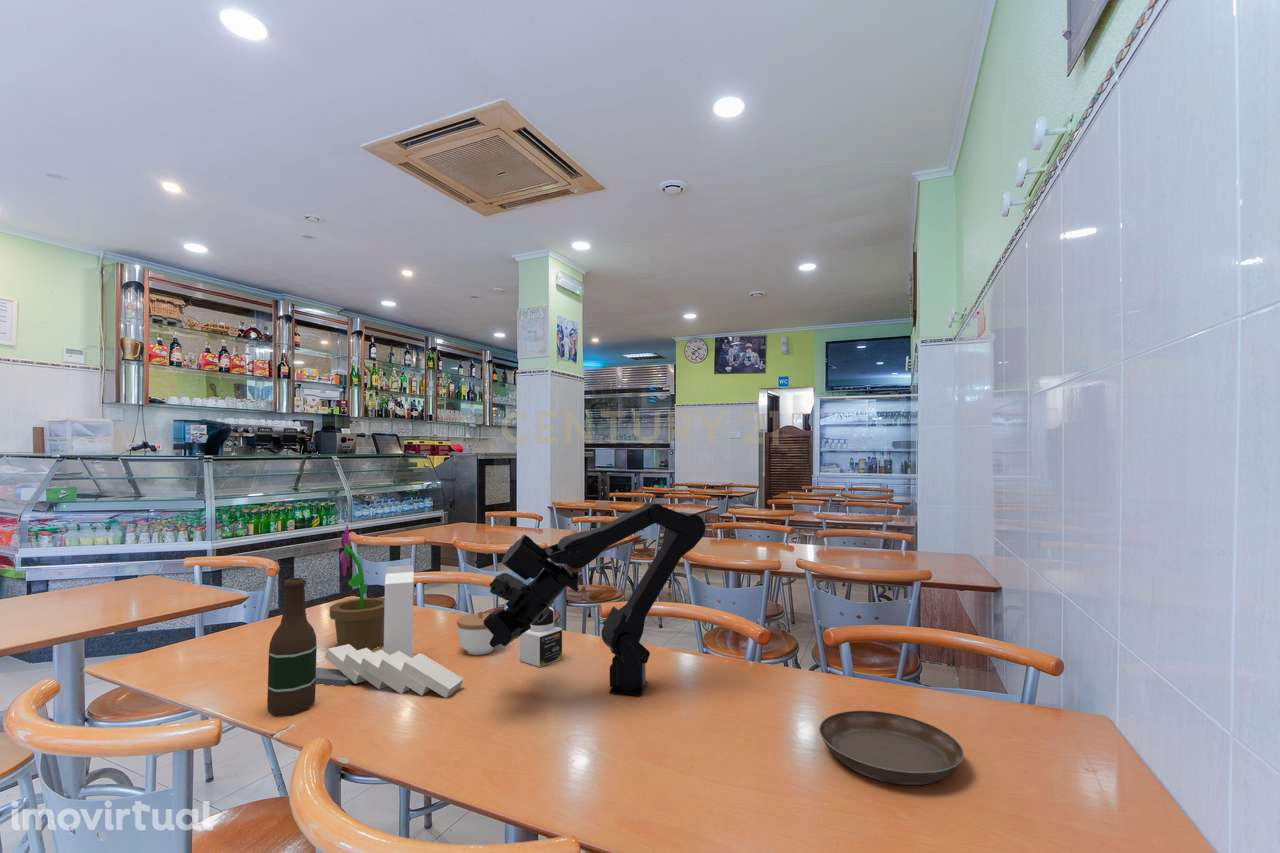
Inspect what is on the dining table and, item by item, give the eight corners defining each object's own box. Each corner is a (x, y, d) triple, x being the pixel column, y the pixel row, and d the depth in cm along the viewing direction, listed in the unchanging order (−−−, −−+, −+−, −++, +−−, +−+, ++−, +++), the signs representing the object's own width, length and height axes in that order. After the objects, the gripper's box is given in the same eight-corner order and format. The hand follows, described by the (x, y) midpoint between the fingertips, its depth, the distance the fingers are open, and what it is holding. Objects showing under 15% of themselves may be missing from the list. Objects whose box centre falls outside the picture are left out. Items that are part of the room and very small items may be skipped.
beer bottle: (293, 719, 104) (296, 584, 106) (256, 715, 106) (260, 582, 107) (324, 701, 112) (327, 575, 113) (290, 698, 114) (293, 574, 115)
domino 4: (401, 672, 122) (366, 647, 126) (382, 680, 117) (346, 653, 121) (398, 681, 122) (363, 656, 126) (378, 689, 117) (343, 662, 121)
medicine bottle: (540, 668, 129) (540, 613, 130) (518, 661, 134) (518, 608, 134) (562, 659, 135) (562, 606, 136) (541, 652, 139) (541, 602, 140)
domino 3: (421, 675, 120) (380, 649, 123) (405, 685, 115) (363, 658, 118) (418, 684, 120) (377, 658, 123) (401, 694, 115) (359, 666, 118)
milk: (384, 661, 134) (386, 564, 135) (412, 658, 136) (414, 563, 137) (383, 670, 128) (384, 569, 130) (412, 666, 130) (413, 567, 132)
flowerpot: (334, 640, 149) (337, 523, 151) (394, 635, 154) (396, 521, 155) (322, 658, 136) (325, 529, 137) (388, 652, 140) (390, 527, 142)
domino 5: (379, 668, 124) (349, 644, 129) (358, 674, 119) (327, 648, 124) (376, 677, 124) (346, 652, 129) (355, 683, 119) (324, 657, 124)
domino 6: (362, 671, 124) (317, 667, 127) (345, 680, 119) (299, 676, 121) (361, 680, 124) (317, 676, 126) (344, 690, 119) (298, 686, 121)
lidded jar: (454, 647, 144) (454, 609, 144) (497, 641, 148) (498, 604, 148) (460, 661, 134) (460, 620, 134) (506, 654, 138) (507, 614, 139)
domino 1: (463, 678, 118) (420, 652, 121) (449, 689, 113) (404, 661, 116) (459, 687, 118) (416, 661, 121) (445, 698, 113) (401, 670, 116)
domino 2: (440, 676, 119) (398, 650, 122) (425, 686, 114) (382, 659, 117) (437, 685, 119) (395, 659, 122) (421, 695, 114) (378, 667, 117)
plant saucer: (846, 716, 105) (846, 698, 105) (976, 753, 92) (975, 732, 92) (798, 763, 89) (797, 741, 89) (946, 815, 76) (946, 789, 76)
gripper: (535, 552, 124) (488, 602, 126) (492, 570, 106) (439, 628, 108) (570, 591, 121) (522, 641, 123) (533, 616, 103) (477, 674, 105)
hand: (491, 645), depth 115 cm, fingers closed
